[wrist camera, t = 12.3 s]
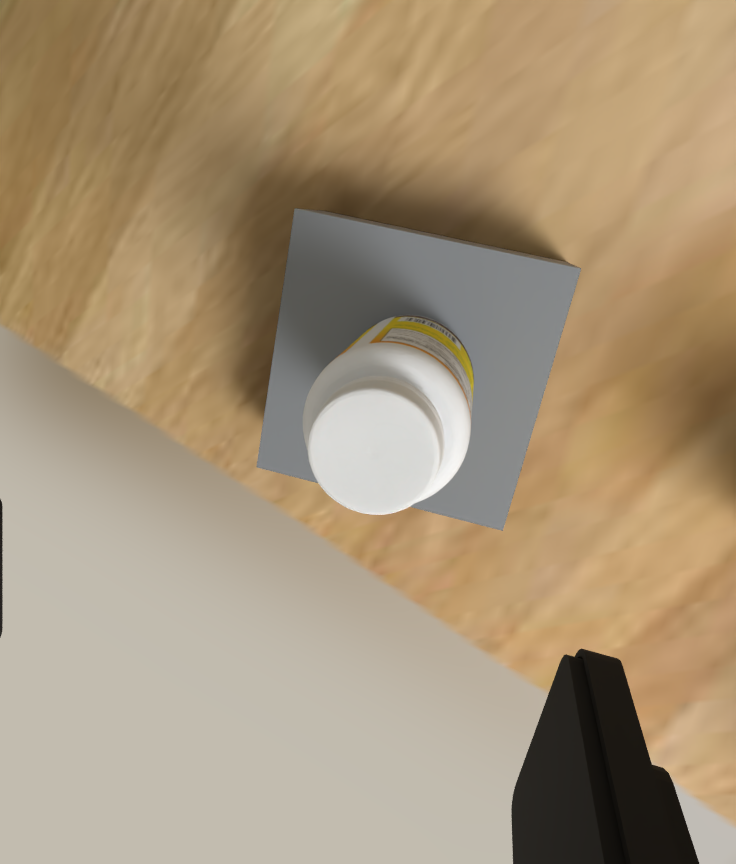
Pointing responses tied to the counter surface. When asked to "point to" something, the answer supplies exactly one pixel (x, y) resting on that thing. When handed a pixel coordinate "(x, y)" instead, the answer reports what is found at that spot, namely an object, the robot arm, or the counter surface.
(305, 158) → the counter surface
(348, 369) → the supplement bottle
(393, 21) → the counter surface
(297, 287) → the base block
